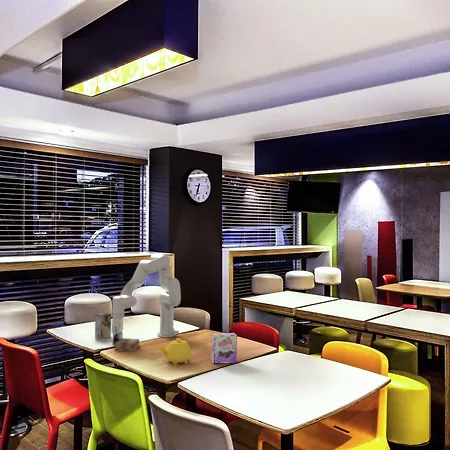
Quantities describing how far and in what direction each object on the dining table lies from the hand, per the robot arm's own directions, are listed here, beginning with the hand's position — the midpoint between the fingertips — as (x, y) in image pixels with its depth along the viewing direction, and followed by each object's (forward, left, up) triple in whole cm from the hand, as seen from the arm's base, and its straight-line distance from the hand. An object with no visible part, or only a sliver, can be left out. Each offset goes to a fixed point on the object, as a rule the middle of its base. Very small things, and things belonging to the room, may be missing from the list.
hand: (117, 342), depth 301 cm
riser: (-10, +9, -2) cm, 13 cm away
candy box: (-74, +27, -2) cm, 79 cm away
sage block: (0, 0, -1) cm, 1 cm away
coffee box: (+16, -15, -1) cm, 22 cm away
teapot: (-46, +33, -2) cm, 57 cm away
